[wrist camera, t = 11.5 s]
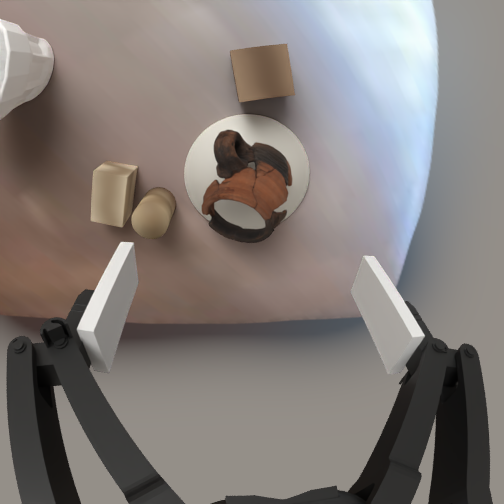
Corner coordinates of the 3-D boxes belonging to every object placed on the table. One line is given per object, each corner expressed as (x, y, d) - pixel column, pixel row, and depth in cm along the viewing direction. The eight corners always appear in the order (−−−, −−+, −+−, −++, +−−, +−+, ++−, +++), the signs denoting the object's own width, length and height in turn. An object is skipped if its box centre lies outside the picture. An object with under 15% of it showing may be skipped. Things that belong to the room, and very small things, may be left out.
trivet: (184, 227, 36) (183, 228, 36) (187, 110, 29) (187, 110, 28) (297, 234, 37) (298, 235, 37) (317, 122, 30) (318, 123, 30)
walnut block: (238, 99, 28) (239, 102, 24) (230, 55, 26) (230, 50, 22) (285, 93, 28) (294, 95, 24) (278, 49, 26) (286, 43, 21)
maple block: (103, 206, 34) (90, 220, 30) (106, 160, 31) (93, 170, 27) (132, 212, 34) (122, 227, 31) (138, 165, 32) (127, 176, 28)
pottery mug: (307, 190, 34) (295, 246, 30) (238, 199, 39) (217, 250, 35) (268, 101, 26) (245, 150, 22) (191, 125, 31) (156, 173, 26)
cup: (55, 121, 27) (-2, 144, 18) (-10, 113, 24) (-66, 134, 15) (80, 22, 21) (25, 9, 12) (9, 25, 18) (-48, 24, 9)
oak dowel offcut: (144, 217, 35) (133, 238, 31) (142, 187, 33) (130, 203, 29) (176, 219, 35) (168, 239, 31) (175, 187, 33) (167, 205, 29)
